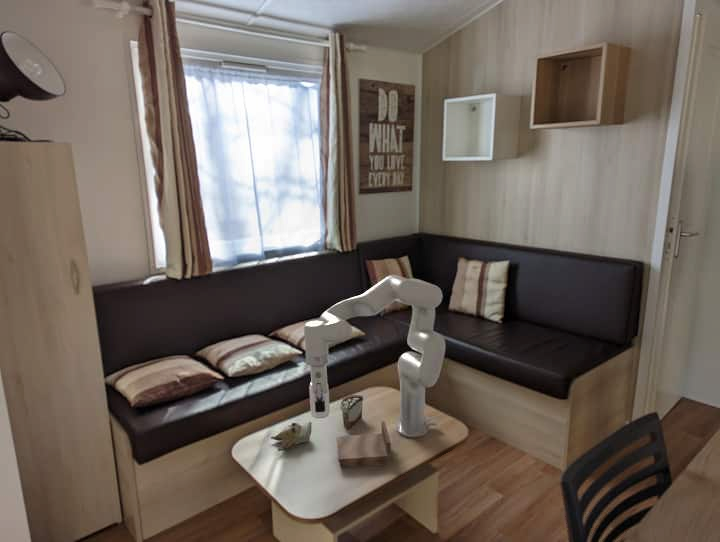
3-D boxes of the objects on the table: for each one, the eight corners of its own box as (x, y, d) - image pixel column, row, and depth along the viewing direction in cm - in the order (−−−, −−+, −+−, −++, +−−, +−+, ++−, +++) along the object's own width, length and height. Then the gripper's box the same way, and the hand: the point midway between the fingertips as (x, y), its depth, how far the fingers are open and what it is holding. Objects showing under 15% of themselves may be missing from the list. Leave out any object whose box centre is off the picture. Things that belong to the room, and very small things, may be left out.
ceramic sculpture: (315, 424, 186) (276, 437, 180) (318, 445, 188) (279, 458, 182) (306, 411, 195) (268, 423, 189) (308, 431, 198) (271, 443, 192)
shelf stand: (384, 442, 189) (384, 421, 187) (390, 465, 176) (390, 442, 173) (336, 446, 187) (336, 424, 185) (338, 469, 174) (338, 446, 172)
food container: (351, 413, 210) (350, 391, 208) (363, 417, 207) (363, 395, 205) (334, 427, 200) (333, 404, 197) (347, 431, 197) (347, 408, 194)
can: (321, 420, 170) (319, 388, 167) (307, 415, 173) (305, 383, 170) (333, 412, 174) (332, 380, 171) (319, 407, 178) (317, 376, 175)
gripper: (329, 368, 161) (332, 418, 165) (327, 346, 177) (329, 393, 182) (305, 369, 160) (309, 420, 165) (306, 348, 177) (309, 394, 181)
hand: (320, 405), depth 173 cm, fingers closed on can, 6 cm apart
